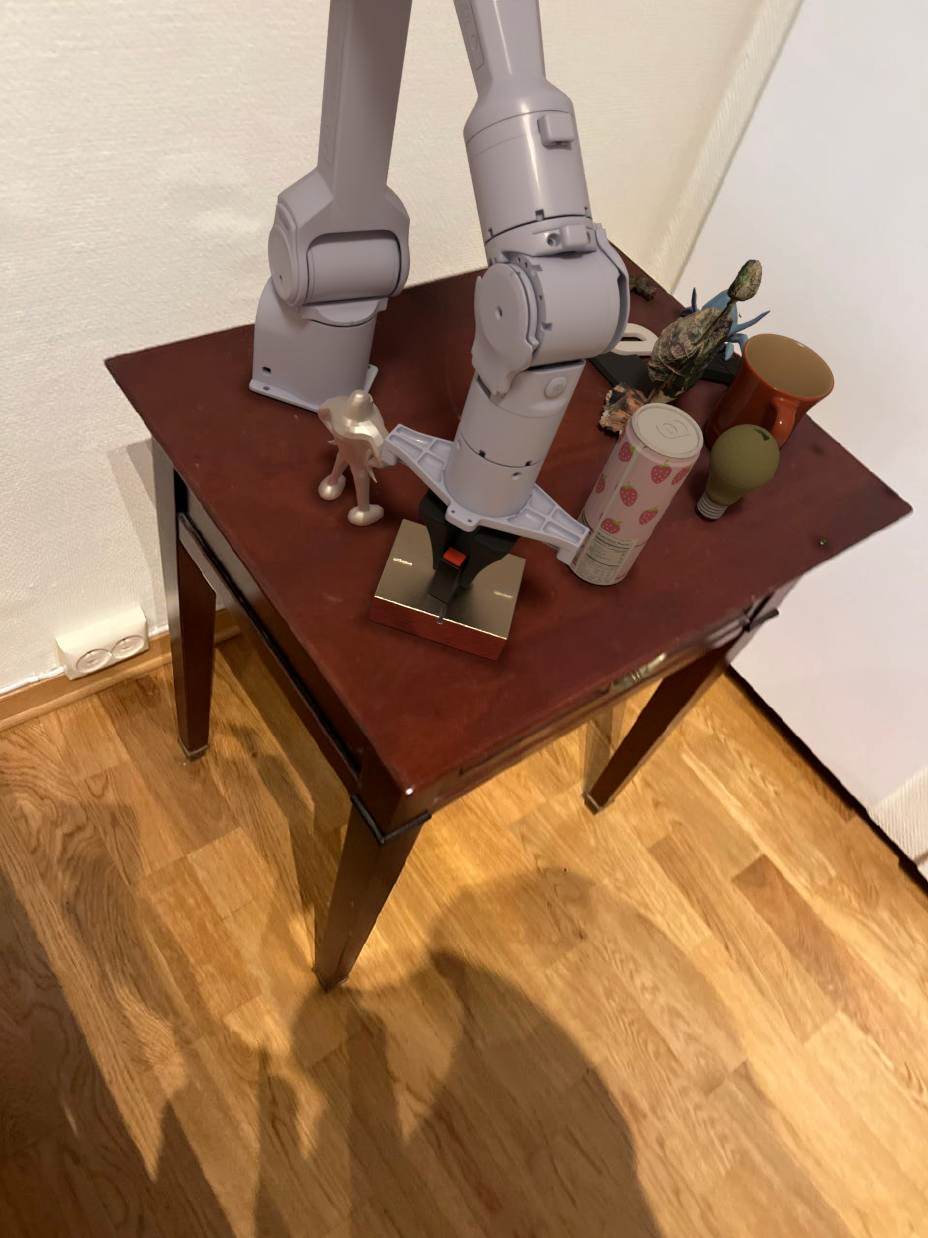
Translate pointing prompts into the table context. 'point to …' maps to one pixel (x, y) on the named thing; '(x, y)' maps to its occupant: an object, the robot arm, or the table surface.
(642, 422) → the beverage can
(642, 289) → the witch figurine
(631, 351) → the chain link
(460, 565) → the knob
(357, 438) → the figurine
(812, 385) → the mug
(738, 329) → the figurine
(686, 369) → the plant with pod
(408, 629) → the panel
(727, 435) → the light bulb
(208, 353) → the table surface
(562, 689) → the table surface
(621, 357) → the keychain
